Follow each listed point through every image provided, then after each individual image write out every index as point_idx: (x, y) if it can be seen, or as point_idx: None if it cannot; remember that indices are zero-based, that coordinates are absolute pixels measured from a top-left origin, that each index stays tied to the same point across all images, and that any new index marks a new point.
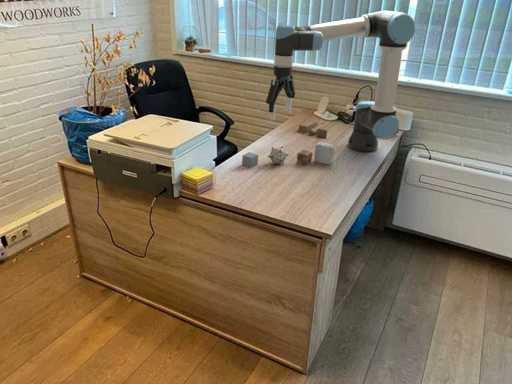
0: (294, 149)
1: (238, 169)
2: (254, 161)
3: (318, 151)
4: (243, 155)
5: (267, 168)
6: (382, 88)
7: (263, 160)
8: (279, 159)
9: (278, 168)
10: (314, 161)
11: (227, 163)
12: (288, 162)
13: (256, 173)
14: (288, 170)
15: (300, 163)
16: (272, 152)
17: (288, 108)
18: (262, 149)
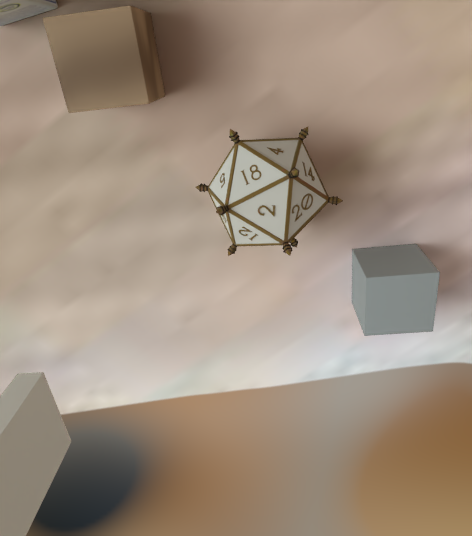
0: (18, 234)
1: (469, 281)
2: (396, 259)
3: None
4: (431, 327)
5: (363, 178)
6: None
7: (280, 262)
8: (306, 150)
9: (321, 128)
10: (56, 4)
11: (430, 357)
12: (200, 140)
13: (466, 180)
14: (307, 57)
15: (159, 64)
16: (309, 220)
17: (20, 454)
18: (163, 348)
